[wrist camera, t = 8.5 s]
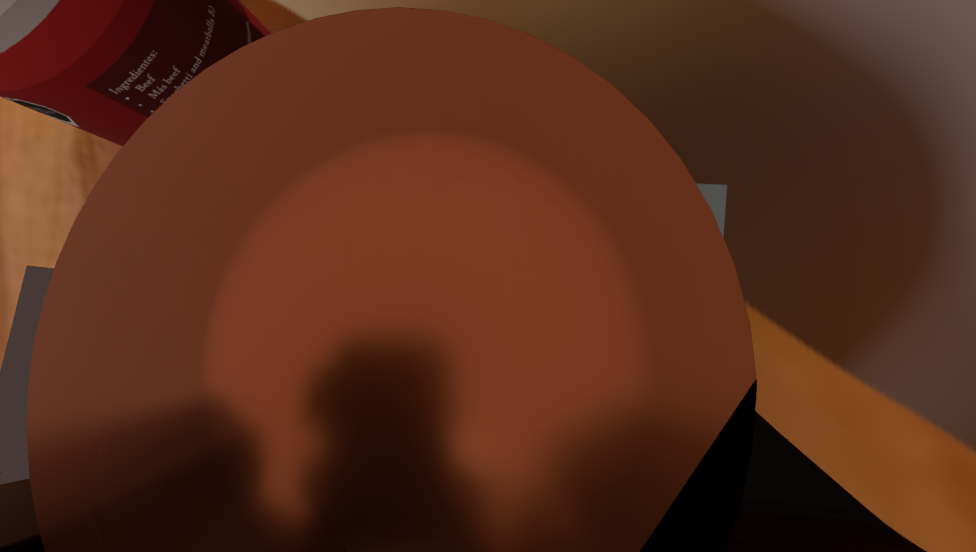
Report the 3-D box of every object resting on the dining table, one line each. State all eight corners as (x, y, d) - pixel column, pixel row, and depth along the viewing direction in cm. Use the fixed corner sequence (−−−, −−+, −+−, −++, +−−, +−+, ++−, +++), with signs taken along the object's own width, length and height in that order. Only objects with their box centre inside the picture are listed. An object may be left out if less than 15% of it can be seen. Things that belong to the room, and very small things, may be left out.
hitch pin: (545, 426, 16) (347, 1066, 2) (455, 345, 17) (-72, 396, 3) (623, 330, 15) (981, 302, 2) (527, 256, 17) (313, -101, 3)
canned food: (185, 83, 23) (-148, -129, 12) (311, 32, 22) (61, -253, 11) (200, 211, 22) (-158, 95, 11) (336, 165, 21) (78, -15, 10)
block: (253, 617, 18) (204, 661, 16) (22, 540, 21) (-49, 567, 19) (309, 303, 20) (272, 299, 17) (85, 272, 23) (27, 265, 20)
